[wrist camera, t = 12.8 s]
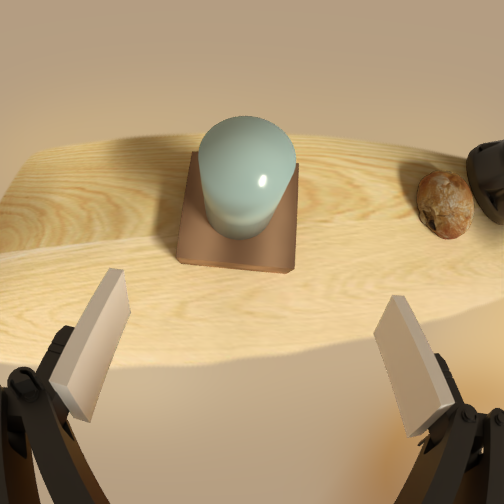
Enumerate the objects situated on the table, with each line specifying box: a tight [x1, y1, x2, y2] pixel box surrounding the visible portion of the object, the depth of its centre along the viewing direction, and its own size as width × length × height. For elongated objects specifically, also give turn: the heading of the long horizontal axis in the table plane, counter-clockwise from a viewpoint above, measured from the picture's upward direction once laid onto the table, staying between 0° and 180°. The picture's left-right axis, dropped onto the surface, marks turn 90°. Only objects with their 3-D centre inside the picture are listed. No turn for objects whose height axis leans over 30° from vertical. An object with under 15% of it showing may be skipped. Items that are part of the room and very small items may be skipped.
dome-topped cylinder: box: [198, 116, 296, 240], centre depth 26 cm, size 7×7×11 cm
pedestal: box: [176, 152, 299, 274], centre depth 34 cm, size 12×12×4 cm
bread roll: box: [417, 170, 474, 239], centre depth 37 cm, size 10×10×8 cm
